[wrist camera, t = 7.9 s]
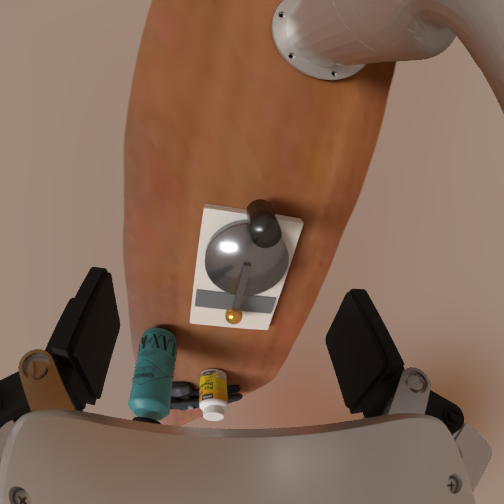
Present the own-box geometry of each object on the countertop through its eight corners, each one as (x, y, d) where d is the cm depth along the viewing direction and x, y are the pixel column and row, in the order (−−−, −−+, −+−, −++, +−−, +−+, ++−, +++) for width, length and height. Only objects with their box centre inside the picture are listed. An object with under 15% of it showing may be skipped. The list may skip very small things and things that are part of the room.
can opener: (166, 394, 59) (165, 414, 55) (159, 379, 56) (157, 400, 51) (241, 393, 61) (243, 414, 56) (241, 377, 57) (243, 399, 52)
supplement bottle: (212, 364, 53) (213, 408, 45) (231, 374, 56) (235, 416, 47) (194, 374, 55) (192, 416, 46) (213, 384, 58) (214, 425, 49)
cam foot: (217, 189, 34) (216, 211, 28) (303, 206, 36) (319, 230, 30) (196, 307, 43) (193, 340, 37) (265, 315, 45) (271, 347, 39)
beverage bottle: (185, 337, 49) (179, 440, 32) (158, 348, 50) (146, 445, 33) (162, 314, 46) (145, 423, 29) (135, 328, 47) (113, 428, 30)
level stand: (204, 203, 36) (203, 209, 35) (300, 218, 39) (304, 224, 37) (190, 316, 46) (189, 324, 45) (266, 323, 49) (267, 331, 47)
